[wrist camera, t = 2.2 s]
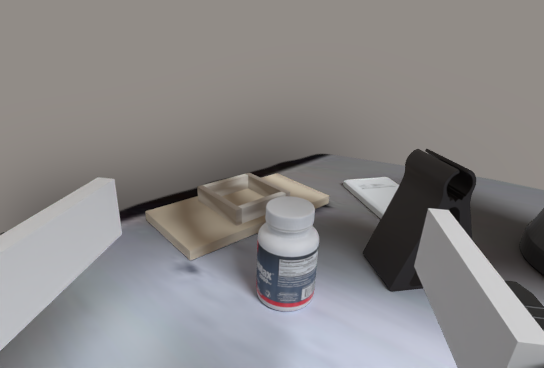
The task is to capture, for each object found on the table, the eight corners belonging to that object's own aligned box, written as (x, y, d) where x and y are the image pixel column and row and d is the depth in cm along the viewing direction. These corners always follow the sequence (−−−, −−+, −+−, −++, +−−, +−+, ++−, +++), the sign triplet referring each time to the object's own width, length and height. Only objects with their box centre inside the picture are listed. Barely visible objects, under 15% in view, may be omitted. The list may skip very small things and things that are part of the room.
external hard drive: (383, 226, 45) (342, 188, 56) (437, 220, 47) (387, 184, 58) (385, 215, 44) (343, 179, 55) (439, 209, 46) (388, 175, 57)
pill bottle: (251, 277, 33) (253, 194, 30) (303, 271, 34) (310, 190, 31) (262, 317, 28) (265, 224, 25) (321, 309, 30) (332, 218, 26)
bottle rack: (276, 180, 56) (277, 161, 55) (328, 203, 49) (330, 182, 48) (146, 219, 43) (143, 196, 42) (190, 260, 35) (188, 233, 34)
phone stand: (389, 291, 32) (414, 171, 27) (362, 254, 37) (379, 149, 33) (473, 283, 34) (511, 168, 29) (436, 249, 39) (462, 147, 34)
